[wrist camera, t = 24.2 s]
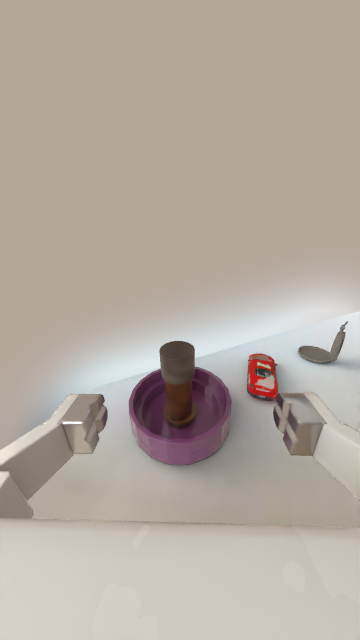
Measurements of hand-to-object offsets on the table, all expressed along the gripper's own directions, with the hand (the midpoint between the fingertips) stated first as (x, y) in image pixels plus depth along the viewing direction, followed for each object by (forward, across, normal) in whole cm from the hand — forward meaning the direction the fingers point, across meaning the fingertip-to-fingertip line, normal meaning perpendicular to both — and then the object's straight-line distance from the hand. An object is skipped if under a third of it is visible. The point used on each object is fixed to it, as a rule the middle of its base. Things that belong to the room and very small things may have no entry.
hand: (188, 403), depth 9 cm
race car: (+25, -14, +19) cm, 34 cm away
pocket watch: (+32, -30, +20) cm, 48 cm away
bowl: (+16, +2, +19) cm, 25 cm away
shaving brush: (+16, +2, +18) cm, 24 cm away
